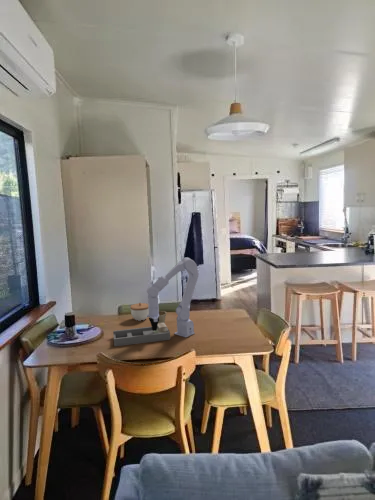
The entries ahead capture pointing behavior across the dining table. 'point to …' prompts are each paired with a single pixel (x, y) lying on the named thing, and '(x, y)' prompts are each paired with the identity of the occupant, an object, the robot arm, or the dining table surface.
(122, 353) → the dining table surface
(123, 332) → the channel
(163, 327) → the cream block
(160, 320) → the flower pot
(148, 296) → the robot arm
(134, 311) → the lidded bowl
